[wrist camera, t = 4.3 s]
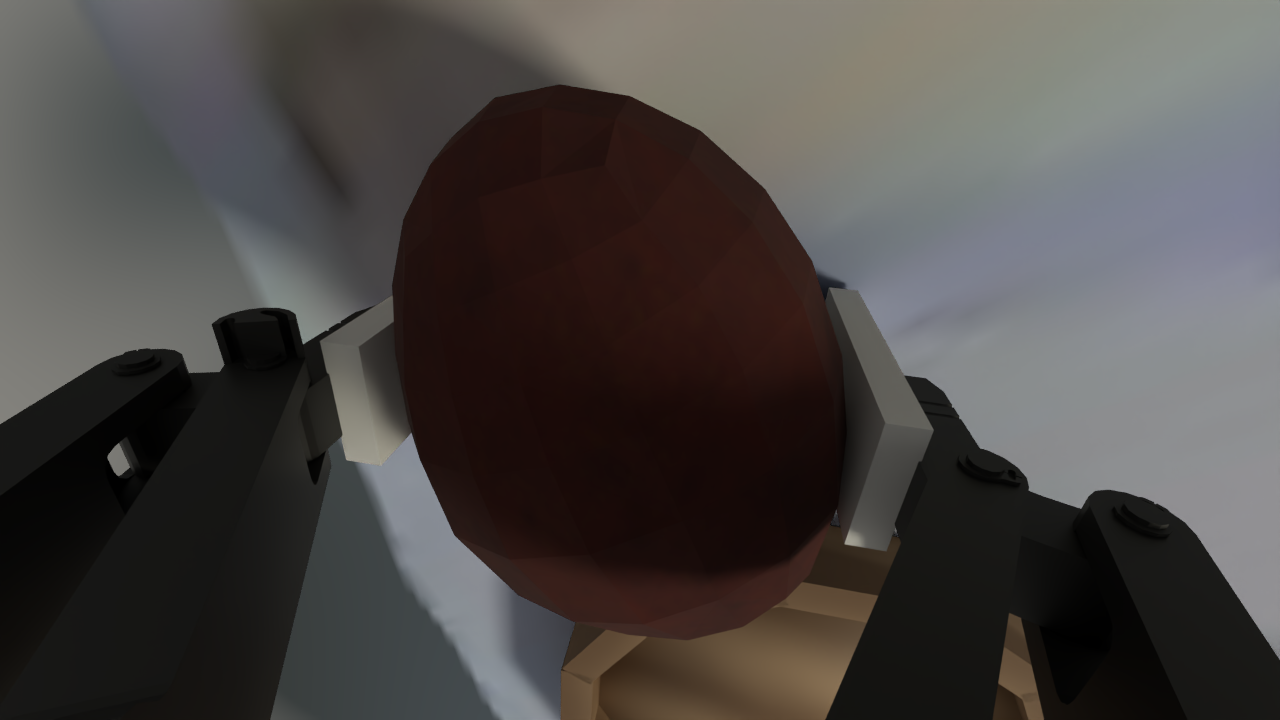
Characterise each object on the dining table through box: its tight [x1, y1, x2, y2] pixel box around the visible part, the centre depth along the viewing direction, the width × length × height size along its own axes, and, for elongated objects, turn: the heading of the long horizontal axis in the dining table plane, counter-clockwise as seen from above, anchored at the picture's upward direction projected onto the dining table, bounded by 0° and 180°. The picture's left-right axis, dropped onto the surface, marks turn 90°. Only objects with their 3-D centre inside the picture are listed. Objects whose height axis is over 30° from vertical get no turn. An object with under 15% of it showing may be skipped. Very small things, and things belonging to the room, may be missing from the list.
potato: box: [392, 85, 847, 640], centre depth 12 cm, size 9×12×9 cm
